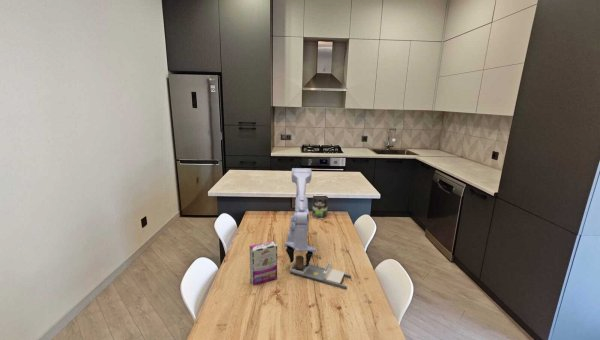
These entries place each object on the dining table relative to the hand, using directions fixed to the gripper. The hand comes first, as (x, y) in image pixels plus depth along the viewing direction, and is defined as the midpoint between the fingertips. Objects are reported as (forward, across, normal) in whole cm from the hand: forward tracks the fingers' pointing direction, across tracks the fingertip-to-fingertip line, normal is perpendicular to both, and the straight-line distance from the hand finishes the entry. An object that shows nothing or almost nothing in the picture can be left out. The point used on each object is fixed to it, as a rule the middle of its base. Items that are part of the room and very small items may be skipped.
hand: (299, 263), depth 129 cm
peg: (+3, 0, 0) cm, 3 cm away
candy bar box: (+4, -12, -12) cm, 18 cm away
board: (+4, +10, +1) cm, 10 cm away
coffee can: (+4, -12, +65) cm, 66 cm away
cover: (+3, +16, +1) cm, 16 cm away
